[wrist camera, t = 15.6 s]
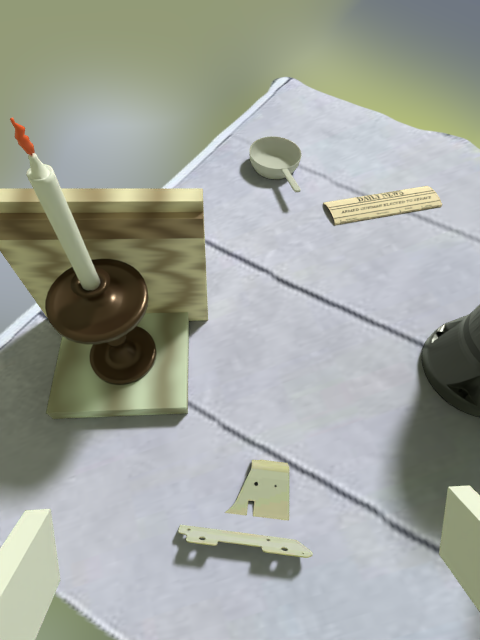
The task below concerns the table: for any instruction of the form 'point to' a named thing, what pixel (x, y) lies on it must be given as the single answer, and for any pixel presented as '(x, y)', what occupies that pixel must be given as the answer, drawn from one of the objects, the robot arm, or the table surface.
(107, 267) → the candlestick
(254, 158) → the small pan
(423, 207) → the newspaper
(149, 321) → the pale wooden blocky structure
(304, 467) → the table surface
